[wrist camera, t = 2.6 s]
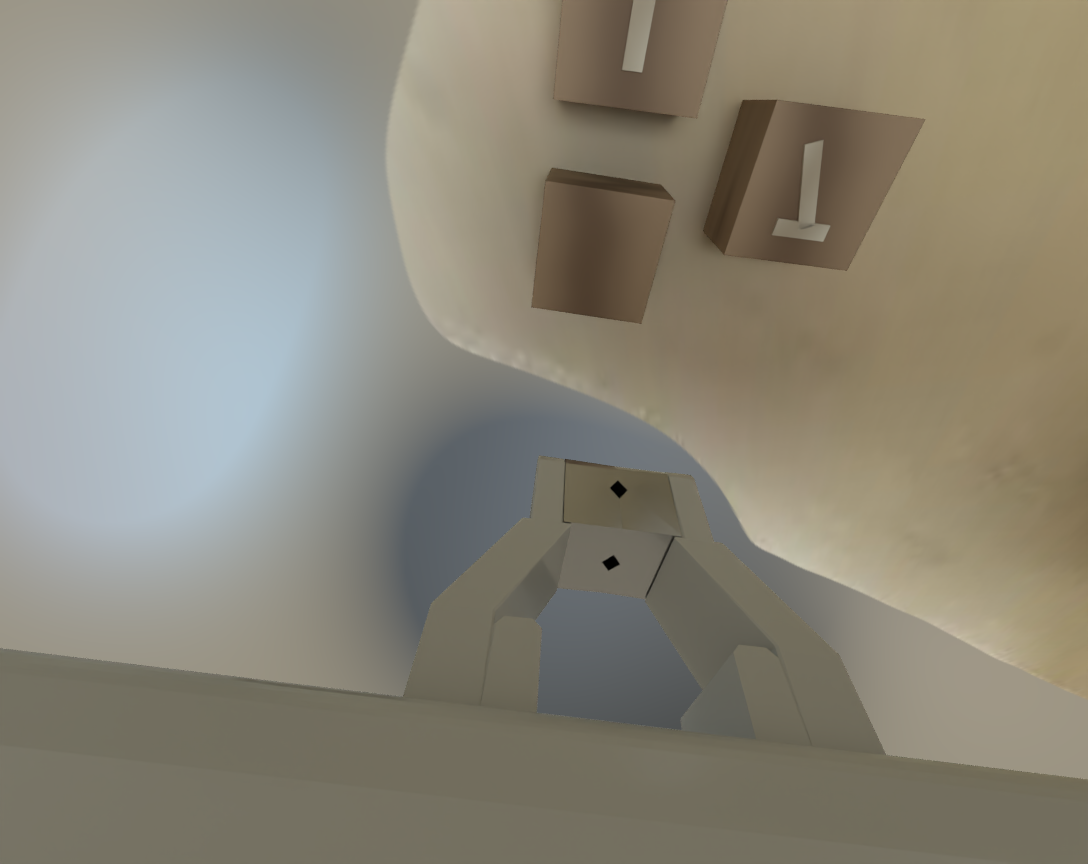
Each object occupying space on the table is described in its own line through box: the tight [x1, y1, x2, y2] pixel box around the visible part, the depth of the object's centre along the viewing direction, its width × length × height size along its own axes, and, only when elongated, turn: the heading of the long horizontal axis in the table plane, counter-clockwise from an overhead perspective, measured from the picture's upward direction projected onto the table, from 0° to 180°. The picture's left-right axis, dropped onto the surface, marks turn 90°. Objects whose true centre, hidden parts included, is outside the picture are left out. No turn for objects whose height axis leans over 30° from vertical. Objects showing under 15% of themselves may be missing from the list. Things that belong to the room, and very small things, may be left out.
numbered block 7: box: [703, 100, 926, 271], centre depth 21 cm, size 6×6×5 cm
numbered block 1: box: [553, 0, 728, 118], centre depth 18 cm, size 6×6×5 cm
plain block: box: [532, 168, 675, 324], centre depth 24 cm, size 6×6×5 cm
